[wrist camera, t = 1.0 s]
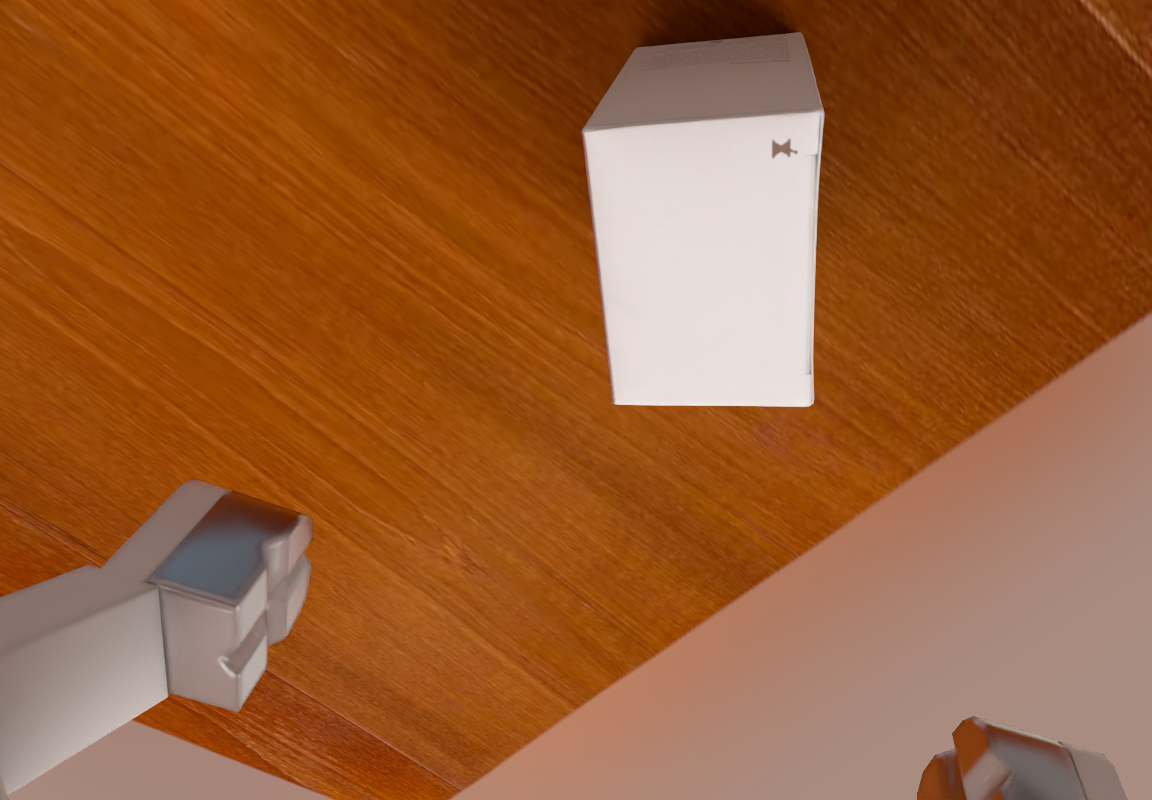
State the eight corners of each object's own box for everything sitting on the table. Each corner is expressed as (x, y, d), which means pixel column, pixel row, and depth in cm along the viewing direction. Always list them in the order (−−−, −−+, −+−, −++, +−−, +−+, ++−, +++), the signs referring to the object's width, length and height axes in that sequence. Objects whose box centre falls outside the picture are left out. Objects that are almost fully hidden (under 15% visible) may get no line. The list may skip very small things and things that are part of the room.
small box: (634, 44, 28) (576, 119, 19) (806, 28, 27) (827, 100, 18) (650, 266, 32) (607, 412, 23) (800, 261, 31) (814, 413, 22)
